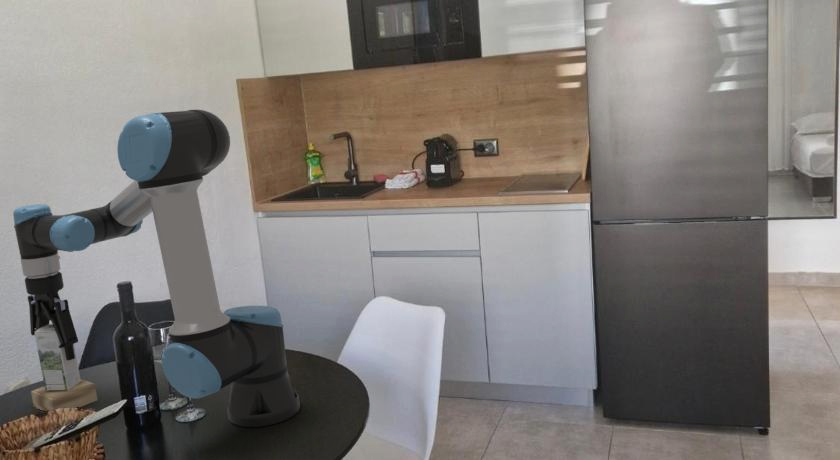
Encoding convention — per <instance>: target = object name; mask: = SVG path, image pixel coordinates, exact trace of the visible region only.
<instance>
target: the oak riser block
mask: <svg viewBox="0 0 840 460" xmlns="http://www.w3.org/2000/svg"><path fill="white" fill-rule="evenodd" d="M80 379H81V378H80ZM30 393H31V394H30V395H31V399H32V405H33V408H34V407H36V408H38V409H40V410H44V411H47V410H54V409H58V408H64V407H79V408H82V407H84V406H88V405H89V404H91V403H94V402H97V401H98V396H97V389H96V383H93V382H90V381H87V380H84V379H81V382H80V383H78V384H77V385H76V386H74V387H73V388H72V389H70V390H68V391H45V386H44V385H43V386H40V387H39V388H36V389H34V390H31V391H30ZM36 408H35V409H36ZM38 409H37V410H38ZM40 410H39V411H40Z"/></svg>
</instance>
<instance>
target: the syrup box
mask: <svg viewBox="0 0 840 460" xmlns="http://www.w3.org/2000/svg"><path fill="white" fill-rule="evenodd" d="M34 334H35V335H34V338H35V343H36V348H37V354H38V358H39V359H38V360H39V364H40V370H41V375H42V380H43V384H44V385H43V387H44V386H45V391H68V390H70V389H72V388H73V387H74V386H76V385H77V384H78V383H80V382H81V375H80V370H79V366H78V359H77V355H76V347H75V343H74V344H73V347H74V353H75V359H76V365H77V370H78V371H76V372H74V373H71V374H68V375H64V370H63V364H62V358H61V353H60V348H59V346H60V345H61V343H60V341H59V338H58V336H57V334H56V331H55V329H54V326H53V324H52V323H51V324H50V323H49V324H48V325H45V326H43V327H41V328H39V329H38V330H37V331H35V333H34Z"/></svg>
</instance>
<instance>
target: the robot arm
mask: <svg viewBox="0 0 840 460" xmlns="http://www.w3.org/2000/svg"><path fill="white" fill-rule="evenodd" d="M230 147H231V137H230V132H229V130H228V127H227V126H226V125H225V123H224V122H223V120H221V118H219V117H218V116H217V115H216V114H214V113H212V112H210V111H207V110H203V109H188V110H180V111H179V110H178V111H168V112H167V111H165V112H151V113H148V114H143V115H138V116H135V117H133V118H131V119H130V120H129V121H127V122H126V124H125V125H124V126H123V128H122V131H121V132H120V133H119V136H118V140H117V147H116V148H117V159H118V162H119V165H120V168H121V170H122V171H123V172H125V175H126V176H127V177H128V178H129V179H131V180H133V181H132V182H130V184H128V186H126V187H125V188H124V189H122V191H121V192H119V194H117V195H116V196H115V197H114V198H113V199H112V200H110V201H109V202H108V203H107V204H105V205H103V206H100V207H95V208H91V209H86V210H83V211H82V210H81V211H77V212H73V213H68V214H67V213H66V214H63V215H62V214H61V215H58V214H57V215H53V212H52V210H51V207H50V206H49V205H48V204H46V203H39V204H29V205H25V206H24V205H23V206H20V207H17V208H15V209H14V210H13V222H14V226H13V229H14V230H15V231H14V232H15V237H16V240H17V246H18V249H19V256H20V263H21V269H22V274H23V277H25V278H24V283H25V289H26V293H27V294H28V296H27V301H28V306H29V323H30V324H29V325H30V327H29V328H30V334H31V336H35V334H34V333H35V331H37V330H38V329H39V328H41V327H43V326H45V325H48V324H50V321H51V324H53V326H54V329H55V331H56V334H57V336H58V338H59V341H60V343H61V345H60V346H59V348H60V353H61V358H62V364H63V370H64V375H68V374H71V373H74V372H76V371H78V370H79V369H78V370H77V365H76V359H75V353H76V352H75V353H74V347H75V346H74V347H73V344H74V345H75V344H76V343H78V342H79V339H78V335H77V331H76V329H75V325H74V322H73V319H72V315H71V312H70V311H71V310H70V308H69V307H70V306H69V302H68V300H67V299H63V300H61V298H60V295H59V291H61V290H63V288H64V287H65V286H64V281H63V275H62V272H61V271H60V270H61V264H60V259H61V256H60V255H59V251H62V252H67V253H71V252H72V253H73V252H81V251H84V250H86V249H88V248H89V246H91V245H93V244H94V245H95V244H99V243H100V242H104V241H108V240H112V239H113V240H114V239H117V238H121V237H127V236H129V235H131V234H134V233H135V234H136V233H137V232H138V231H139V230H140V229H141V228H142V224H143V220H144V219H146V218H147V217H148V216H149V215H150V214H153V215H152V216H153V220H154V226H155V229H156V235H157V239H158V244H159V245H158V246H159V250H160V254H161V257H162V263H163V268H164V274H165V277H166V283H167V287H168V292H169V298H170V302H171V307H172V308H171V309H172V314H173V317H174V322H173V323H172V325H171V327H170V328H169V329H168V333H169V339H170V344H169V345H168V346H166V347H165V348H164V350H163V352H162V353H163V354H162V355H161V366H162V371H163V373H164V376H165V378H166V380H167V381H168V383H169V384H170V386H172V388H174V389H175V390H176V391H177V392H178V393H180V394H181V395H183V396H184V397H186V398H189V399H202V398H204V397H207V396H209V395H211V394H215V393H217V392H219V391H220V390H222V389H223V388H225V387H227V386H229V385H231V386H230V387H231V388H230V392H229V398H228V403H227V406H226V407H227V408H226V412H227V419H228V421H229V422H230V423H231V424H233V425H235V426H239V427H242V428H258V427H267V426H271V425H275V424H279V423H281V422H284V421H286V420H289V419H291V418H292V417H294V416H295V415H296V414H297V413H298V412H299V410H300V409H301V404H300V403H301V402H300V398H299V394H298V392H297V390H296V387H295V386H294V384H293V381H292V379H291V377H290V375H289V372H288V365H287V355H286V346H285V344H286V343H285V336H284V325H283V322H282V316H281V313H280V311H279V310H278V309H277V308H276V307H273V306H268V305H243V306H242V305H241V306H236V307H231V308H228V309H226V310H225V311H224V312H223V311H222V310H221V308H220V307H221V306H220V303H219V296H218V292H217V287H216V281H215V277H214V270H213V267H212V261H211V256H210V251H209V246H208V240H207V236H206V235H207V234H206V230H205V226H204V221H203V215H202V211H201V204H200V200H199V195H198V189H199V187H200V185H201V184H202V183H203V181H204V178H203V177H204V176H207V175H208V174H210V173H211V172H212V171H213V170H215V169H216V168H217V167H218V166H219V165H220V164H222V163H223V161H224V160H225V159H226V157H227V156H228V154H229V152H230Z"/></svg>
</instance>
